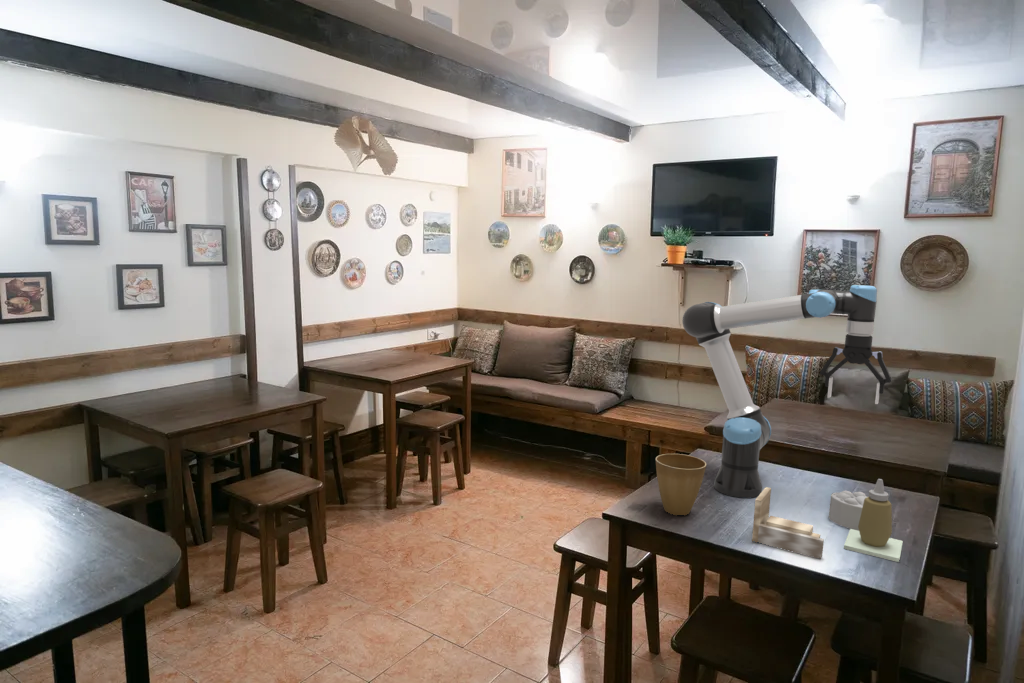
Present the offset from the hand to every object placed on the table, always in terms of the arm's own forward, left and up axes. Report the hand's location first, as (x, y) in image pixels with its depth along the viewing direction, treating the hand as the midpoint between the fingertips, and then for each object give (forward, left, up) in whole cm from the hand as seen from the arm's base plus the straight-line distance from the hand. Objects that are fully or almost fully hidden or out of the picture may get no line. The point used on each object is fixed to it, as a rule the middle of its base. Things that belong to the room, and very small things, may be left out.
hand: (852, 400), depth 210 cm
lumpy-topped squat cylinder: (+5, -20, -33) cm, 39 cm away
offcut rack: (-7, -46, -33) cm, 57 cm away
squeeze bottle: (+12, -35, -32) cm, 49 cm away
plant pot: (-40, -44, -33) cm, 68 cm away
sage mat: (+12, -35, -33) cm, 49 cm away
